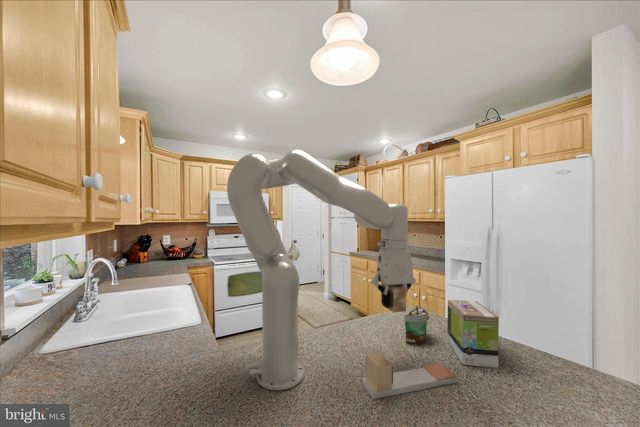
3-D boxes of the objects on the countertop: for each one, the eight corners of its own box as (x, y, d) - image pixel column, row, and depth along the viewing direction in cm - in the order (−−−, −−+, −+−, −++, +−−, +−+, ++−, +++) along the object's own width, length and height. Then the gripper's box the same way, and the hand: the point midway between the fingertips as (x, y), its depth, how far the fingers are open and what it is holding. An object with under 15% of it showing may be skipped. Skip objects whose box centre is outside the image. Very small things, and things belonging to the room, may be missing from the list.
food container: (423, 350, 87) (423, 319, 87) (404, 344, 91) (404, 314, 91) (433, 336, 97) (433, 308, 97) (416, 331, 101) (416, 305, 101)
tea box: (500, 368, 77) (500, 316, 77) (462, 365, 79) (462, 314, 79) (478, 343, 92) (477, 299, 92) (446, 341, 93) (446, 298, 93)
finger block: (391, 312, 78) (392, 288, 78) (381, 305, 84) (382, 283, 84) (405, 311, 79) (406, 287, 79) (395, 304, 85) (395, 282, 85)
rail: (373, 399, 64) (372, 367, 64) (362, 383, 70) (362, 354, 70) (457, 382, 71) (457, 353, 71) (441, 369, 76) (441, 343, 76)
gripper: (374, 247, 76) (373, 312, 76) (426, 246, 80) (425, 308, 80) (363, 244, 83) (362, 304, 83) (411, 243, 87) (410, 300, 87)
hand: (393, 305), depth 81 cm, fingers closed on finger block, 4 cm apart
